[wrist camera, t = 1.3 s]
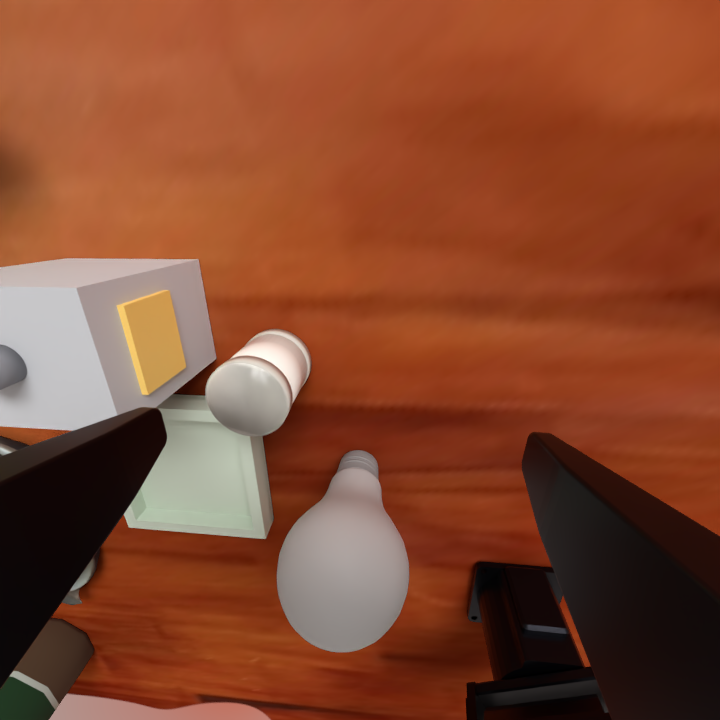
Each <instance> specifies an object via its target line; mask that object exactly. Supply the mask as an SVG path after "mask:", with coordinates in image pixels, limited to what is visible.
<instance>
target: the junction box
mask: <svg viewBox="0 0 720 720" xmlns="http://www.w3.org/2000/svg"><path fill="white" fill-rule="evenodd" d="M215 359H216V353H215V348H214V342H213V337H212V331H211V326H210V320H209V315H208V309H207V304H206V298H205V293H204V287H203V282H202V276H201V271H200V265H199V260H198V259H91V258H66V259H58V260H51V261H44V262H36V263H29V264H22V265H15V266H7V267H0V426H5V427H22V428H40V429H57V430H77V429H80V428H82V427H85V426H88V425H91V424H94V423H97V422H99V421H102V420H105V419H108V418H111V417H114V416H117V415H119V414H122V413H125V412H128V411H131V410H134V409H137V408H140V407H152V408H156V407H157V406H158V405H159V404H161V403H162V402H163V401H164V400H166V399H167V398H168V397H169V396H171V395H172V394H173V393H174V392H176V391H177V390H178V389H179V388H181V387H182V386H183V385H184V384H186V383H187V382H188V381H189V380H191V379H192V378H193V377H194V376H195V375H197V374H198V373H199V372H200V371H202V370H203V369H204V368H205V367H207V366H208V365H209V364H210V363H212V362H213V361H214V360H215Z"/></svg>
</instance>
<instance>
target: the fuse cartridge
mask: <svg viewBox="0 0 720 720" xmlns="http://www.w3.org/2000/svg"><path fill="white" fill-rule="evenodd" d="M311 367H312V360H311V355H310V352H309V350H308V348H307V346H306V345H305V344H304V342H303V341H302V340H301V339H300V338H298V337H297V336H296V335H294V334H293V333H291V332H288V331H286V330H282V329H268V330H264V331H262V332H260V333H258V334H257V335H255V336H254V337H253V338H252V339H251V340H250V341H249V342H248V343H247V344H246V345H245V346H244V347H243V348H242V349H241V350H240V351H238V352H237V353H236V354H235V355H234V356H233V357H232V358H230V359H229V360H227V361H226V362H224V363H223V364H222V365H221V366H220V367H218V368H217V369H216V370H215V371H214V372H213V373H212V374H211V376H210V377H209V379H208V381H207V384H206V389H205V395H206V401H207V404H208V407H209V409H210V411H211V412H212V414H213V415H214V417H215V418H216V419H217V420H218V421H219V422H220V423H221V424H222V425H223V426H225V427H226V428H228V429H229V430H231V431H233V432H235V433H238V434H241V435H245V436H263V435H267V434H270V433H272V432H274V431H275V430H277V429H278V428H279V427H280V426H281V425H282V424H283V422H284V421H285V419H286V417H287V415H288V413H289V411H290V409H291V406H292V404H293V402H294V400H295V398H296V397H297V395H298V393H299V391H300V389H301V387H302V386H303V385H304V383H305V382H306V380H307V378H308V376H309V374H310V371H311Z"/></svg>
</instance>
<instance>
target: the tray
mask: <svg viewBox="0 0 720 720" xmlns="http://www.w3.org/2000/svg"><path fill="white" fill-rule="evenodd" d="M156 408H158V409H159V410H160V411H161V413H162V417H163V421H164V424H165V428H166V432H167V442H166V445H165V447H164V448H163V450H162V452H161V454H160V455H159V457H158V459H157V461H156V462H155V464H154V466H153V468H152V469H151V471H150V473H149V475H148V476H147V478H146V480H145V482H144V483H143V485H142V487H141V489H140V490H139V492H138V493H137V495H136V497H135V498H134V500H133V501H132V503H131V504H130V506H129V507H128V509H127V510H126V512H125V513H124V516H125V518H126V521H127V524H128V527H129V528H141V529H153V530H164V531H176V532H188V533H199V534H211V535H223V536H234V537H246V538H258V539H266V537H267V535H268V532H269V530H270V527H271V525H272V522H273V520H274V516H273V509H272V501H271V494H270V487H269V480H268V472H267V465H266V458H265V451H264V443H263V436H245V435H241V434H238V433H235V432H233V431H231V430H229V429H228V428H226V427H225V426H223V425H222V424H221V423H220V422H219V421H218V420H217V419H216V418H215V417H214V415H213V414H212V412H211V411H210V409H209V407H208V404H207V401H206V396H200V395H179V394H172V395H171V396H169V397H168V398H167V399H166V400H164V401H163V402H162V403H161V404H159V405H158V406H157V407H156Z"/></svg>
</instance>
